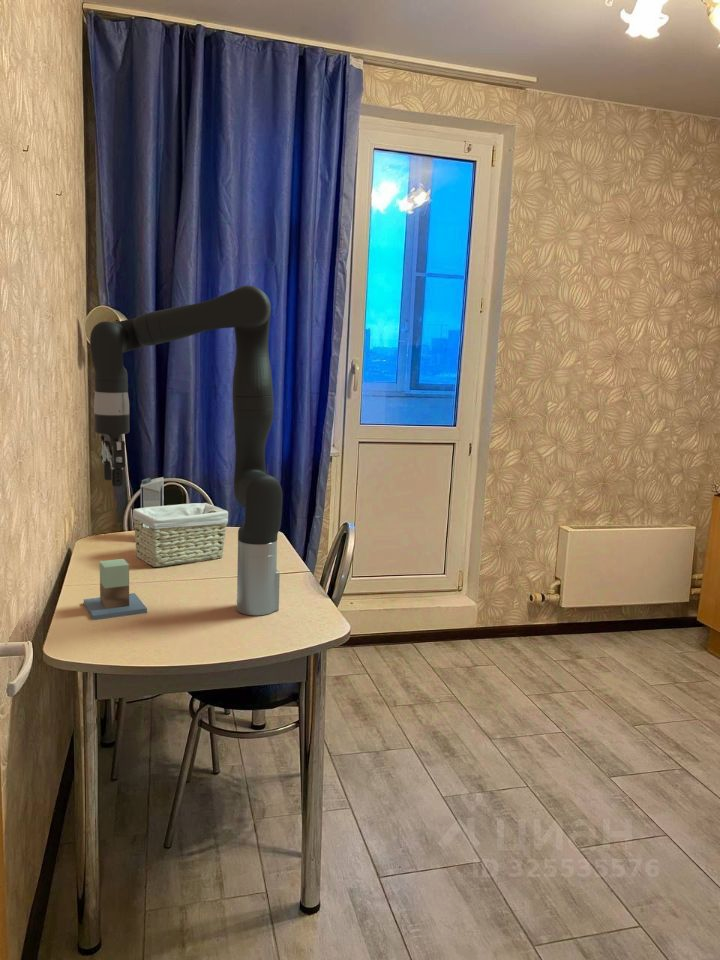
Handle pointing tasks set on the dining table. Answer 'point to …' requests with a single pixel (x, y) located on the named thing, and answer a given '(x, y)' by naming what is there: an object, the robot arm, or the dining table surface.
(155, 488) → the milk carton
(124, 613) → the base board
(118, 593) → the walnut block
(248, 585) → the robot arm
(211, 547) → the storage basket
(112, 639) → the dining table surface
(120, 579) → the sage green block
